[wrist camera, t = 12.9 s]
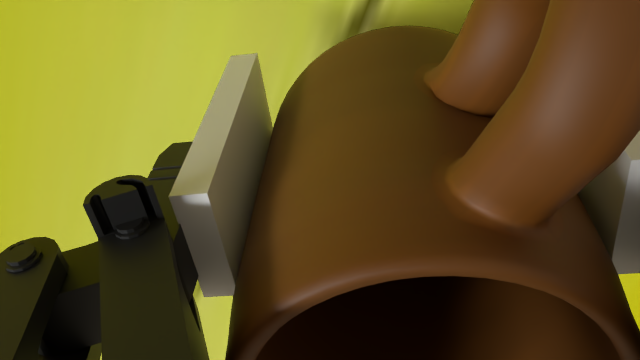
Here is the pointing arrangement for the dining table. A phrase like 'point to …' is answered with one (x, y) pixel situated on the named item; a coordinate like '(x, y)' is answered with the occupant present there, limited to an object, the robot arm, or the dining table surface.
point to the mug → (446, 193)
